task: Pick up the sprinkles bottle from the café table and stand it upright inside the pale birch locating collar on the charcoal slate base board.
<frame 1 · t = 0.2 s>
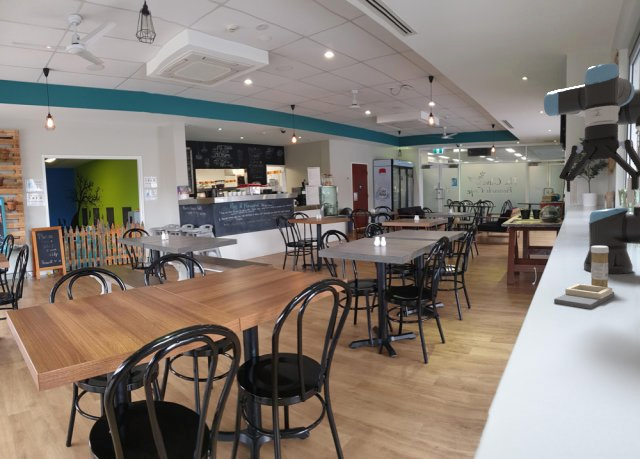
hand: (600, 203, 115), 27 cm above the table, fingers open, 13 cm apart
sprinkles bottle: (599, 289, 130), on the table
slate base board: (584, 299, 119), on the table
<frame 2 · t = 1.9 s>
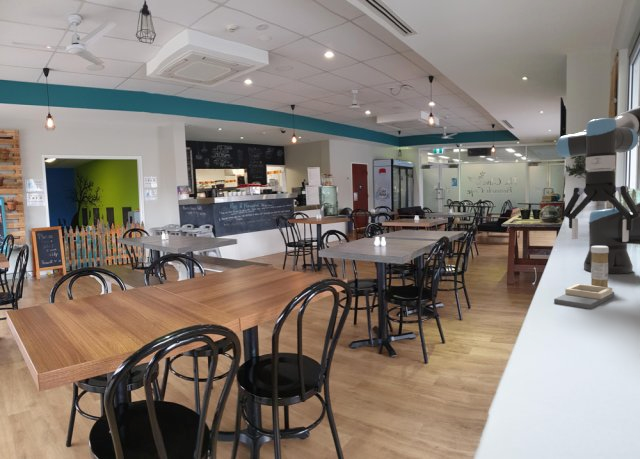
hand: (599, 240, 129), 15 cm above the table, fingers open, 13 cm apart
nothing on the table moved.
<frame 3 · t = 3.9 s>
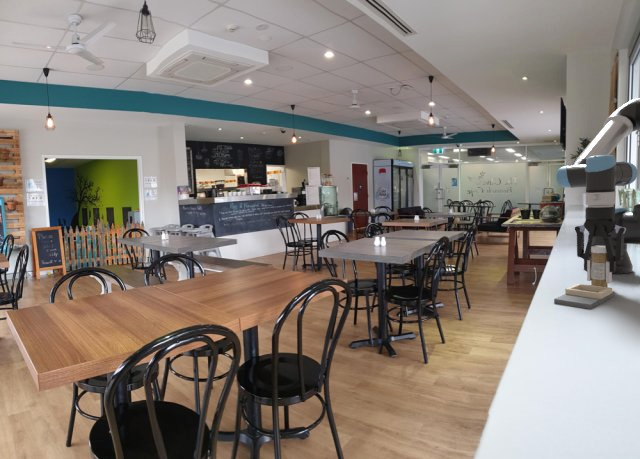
hand: (599, 281, 130), 2 cm above the table, fingers closed on sprinkles bottle, 4 cm apart
sprinkles bottle: (599, 289, 130), on the table, touching gripper
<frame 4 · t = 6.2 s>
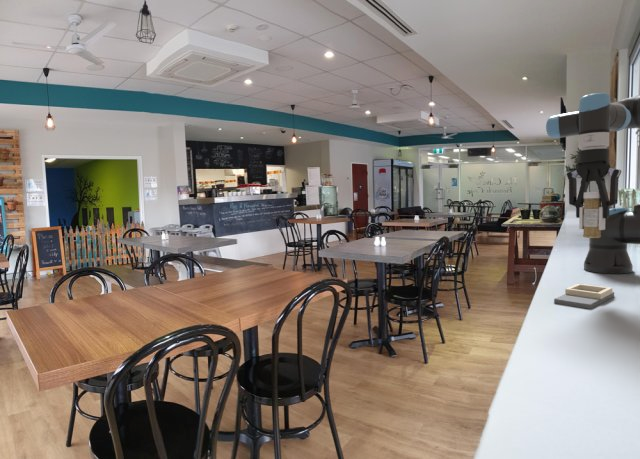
hand: (592, 229, 123), 20 cm above the table, fingers closed on sprinkles bottle, 4 cm apart
sprinkles bottle: (591, 238, 123), point 17 cm above the table, touching gripper
when the fingers open (4 cm above the table, at t = 8.7 s): sprinkles bottle stays where it is, resting on slate base board.
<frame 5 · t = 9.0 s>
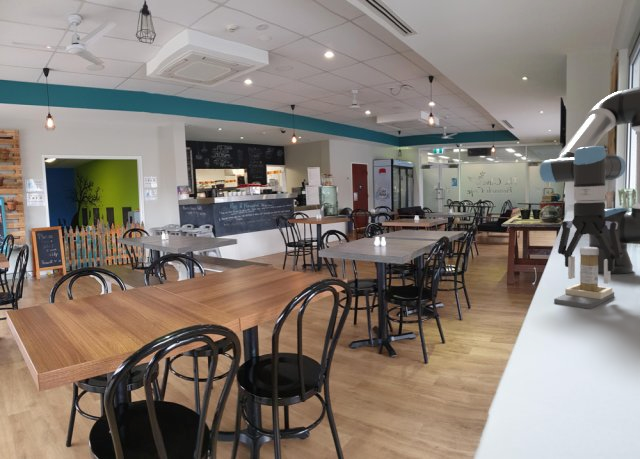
hand: (588, 280, 121), 5 cm above the table, fingers open, 8 cm apart
sprinkles bottle: (588, 294, 121), point 1 cm above the table, touching slate base board
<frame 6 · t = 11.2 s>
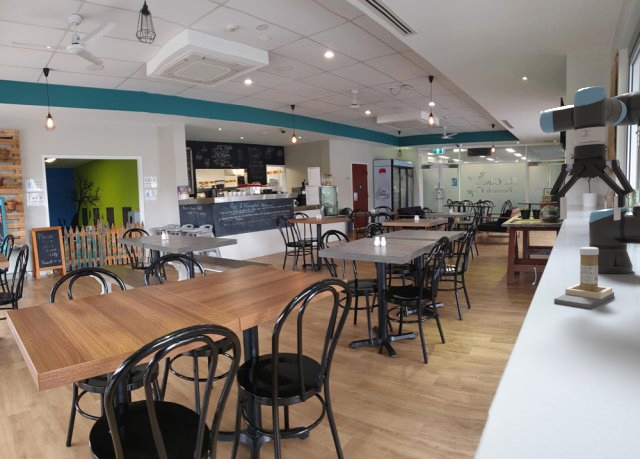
hand: (589, 219, 119), 23 cm above the table, fingers open, 13 cm apart
nothing on the table moved.
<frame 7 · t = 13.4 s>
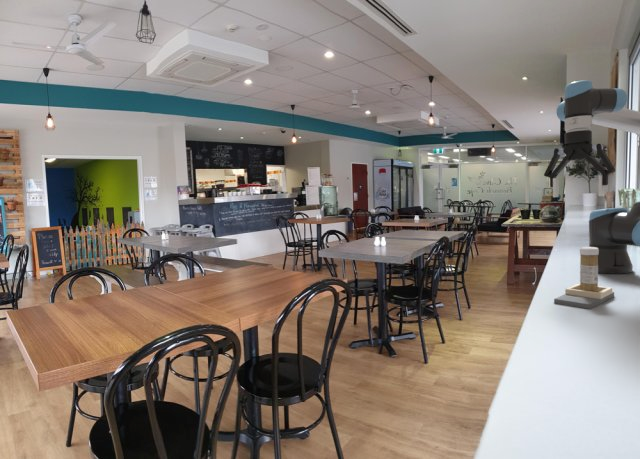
hand: (577, 196, 137), 29 cm above the table, fingers open, 13 cm apart
nothing on the table moved.
at the end: sprinkles bottle 0.0 cm from the target spot on the slate base board, point 1.0 cm above the slate base board's base; sprinkles bottle tilted 0°; the gripper is holding nothing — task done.
